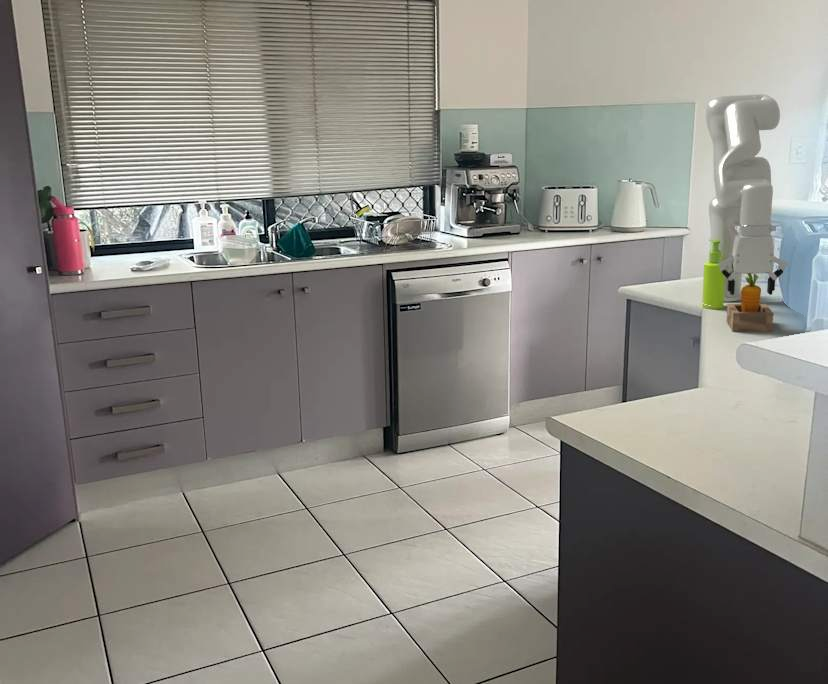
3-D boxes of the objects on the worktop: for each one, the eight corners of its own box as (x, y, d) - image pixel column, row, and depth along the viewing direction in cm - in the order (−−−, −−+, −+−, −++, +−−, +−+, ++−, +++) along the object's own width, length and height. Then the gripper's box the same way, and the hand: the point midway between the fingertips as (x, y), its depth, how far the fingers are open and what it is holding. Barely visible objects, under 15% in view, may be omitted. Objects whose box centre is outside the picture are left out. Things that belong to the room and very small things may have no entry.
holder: (726, 321, 233) (727, 304, 232) (764, 321, 231) (765, 303, 230) (732, 331, 224) (733, 313, 222) (772, 331, 222) (773, 313, 220)
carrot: (759, 328, 225) (764, 274, 220) (740, 328, 226) (744, 274, 221) (756, 323, 229) (760, 270, 225) (737, 323, 230) (741, 270, 226)
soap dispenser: (719, 303, 252) (722, 237, 246) (725, 308, 246) (728, 241, 240) (699, 303, 253) (702, 238, 247) (704, 309, 246) (707, 242, 241)
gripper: (786, 227, 222) (781, 290, 227) (718, 228, 225) (714, 290, 230) (793, 232, 215) (787, 297, 220) (722, 233, 218) (718, 297, 223)
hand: (750, 293), depth 225 cm, fingers open, 9 cm apart
